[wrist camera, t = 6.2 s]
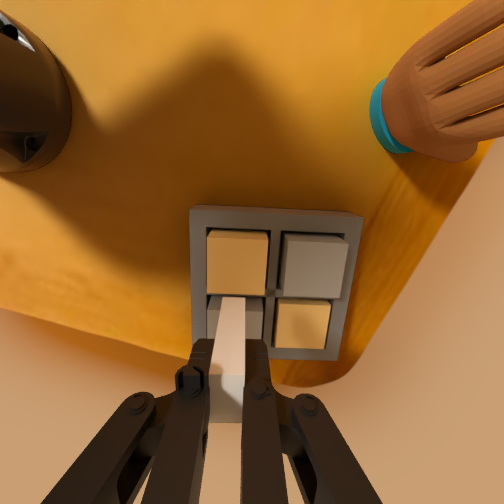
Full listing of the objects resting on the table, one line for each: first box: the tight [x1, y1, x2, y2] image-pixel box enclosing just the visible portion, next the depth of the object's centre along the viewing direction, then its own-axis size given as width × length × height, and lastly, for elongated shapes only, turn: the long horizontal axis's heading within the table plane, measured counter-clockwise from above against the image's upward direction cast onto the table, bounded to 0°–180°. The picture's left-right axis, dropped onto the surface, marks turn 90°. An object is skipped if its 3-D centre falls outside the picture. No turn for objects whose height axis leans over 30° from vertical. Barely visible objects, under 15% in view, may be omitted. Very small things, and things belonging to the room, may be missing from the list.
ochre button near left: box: [207, 229, 268, 295], centre depth 27 cm, size 6×6×4 cm
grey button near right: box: [279, 232, 349, 298], centre depth 27 cm, size 6×6×4 cm
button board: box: [189, 204, 364, 361], centre depth 31 cm, size 18×18×4 cm
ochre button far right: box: [272, 297, 331, 349], centre depth 32 cm, size 6×6×4 cm
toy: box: [370, 0, 504, 163], centre depth 21 cm, size 12×7×15 cm, turn 27°
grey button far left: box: [207, 295, 263, 339], centre depth 30 cm, size 6×6×4 cm
